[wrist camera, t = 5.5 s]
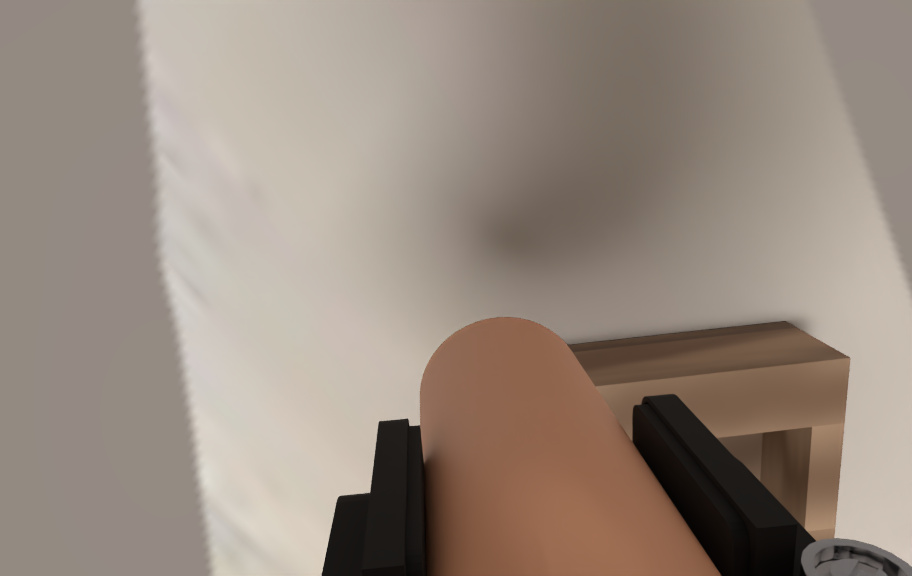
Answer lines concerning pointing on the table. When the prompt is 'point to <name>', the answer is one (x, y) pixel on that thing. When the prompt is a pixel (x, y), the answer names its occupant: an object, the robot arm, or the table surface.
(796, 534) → the robot arm
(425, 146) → the table surface
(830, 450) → the socket block
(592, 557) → the pin
